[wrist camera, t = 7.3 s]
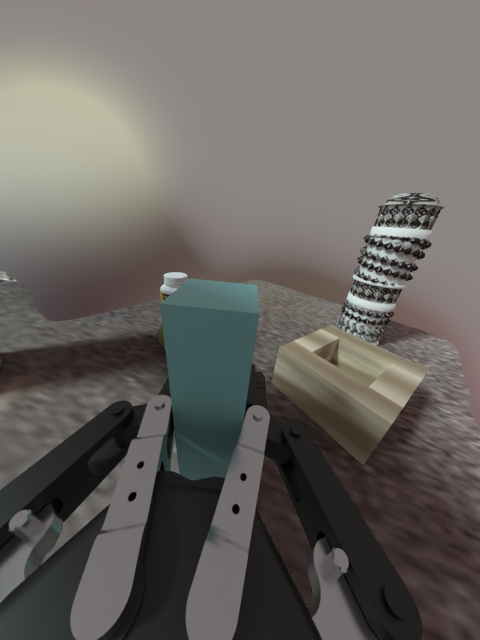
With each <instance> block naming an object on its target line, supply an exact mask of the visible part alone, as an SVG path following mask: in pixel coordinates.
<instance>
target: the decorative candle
mask: <svg viewBox="0 0 480 640" xmlns="http://www.w3.org/2000/svg"><path fill="white" fill-rule="evenodd" d="M379 208H380V211H379V214H378V217H377V219H376V223H375V225H374V227H372V230H371V233H370V235H367V236H366V237H364V241H365V242H366V243H369V244H368V246H366V247H363V248H362V249H361V250H360V252H361V254H362V255H363V256H361V257H359V258H358V263H359V264H361V266H359V267H357V268H356V269H355V270H354V271H355V275H354V276H353V278H354V279H355V280H354V283H353V286H352V288H351V291H350V292H349V294H348V297H347V299H346V300H345V301H344V305H345V306H344V307H342V308H341V311H342V312H343V313H341V314H339V316H338V321H337V322H336V327H337V328H339V329H341V330H343V331H345V332H348V333H350V334H352V335H354V336H356V337H359V338H361V339H363V340H365V341H367V342H369V343H372V344H374V345H376V346H377V345H378V344H379V340H381V338H382V337H383V336H382V334H383V333H384V332H385V331H386V328H385V327H386V326H385V325H387V324H388V323H389V322H390V320H389V318H388V317H392V316H393V315H394V313H393V310H394V308H395V305H396V301H397V299H398V297H399V295H400V293H401V291H402V289H404V288H407V284H406V283H404V282H405V281H408V280H412V278H413V277H412V276H411V275H410V273H409V272H412V271H415V270H417V269H418V267H417V266H416V265H415V264H414V262H415V260H416V259H418V260H419V259H421V258H424V257H425V254H424V253H423V251H421V252H420V250H421V249H423V250H424V249H427V248H429V247H430V246H431V243H430V242H429V241H428V239H429V236H430V235H431V232H432V231H431V229H432V227H433V225H434V223H435V221H436V219H437V217H438V214H439V213H440V211H441V209H443V208H444V207H441V206H440V203H439V198H438V197H437V196H435V195H433V194H425V193H408V194H398V195H395V196H392V197H391V198H389V199H388V200H387V201H386V203H385V204H383V205H382V206H379ZM413 264H414V265H413Z"/></svg>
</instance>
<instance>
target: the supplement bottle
mask: <svg viewBox="0 0 480 640" xmlns="http://www.w3.org/2000/svg"><path fill="white" fill-rule="evenodd" d="M186 281H188V278H187V274H184V273H176V272H173V273H167V274H164V284H163V285H162V286H161V288H160V291H161V301H162V302H163V301H164V300H165V299H166V298H167V297H168V296H170V295H171V294H172V293H173V292H174V291H176V290H177V289H178V288H179V287H180V286H182V285H183V284H184V283H185V282H186Z"/></svg>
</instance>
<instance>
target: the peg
mask: <svg viewBox="0 0 480 640" xmlns="http://www.w3.org/2000/svg"><path fill="white" fill-rule="evenodd" d="M160 307H161V315H162V324H163V333H164V342H165V350H166V359H167V368H168V377H169V386H170V394H171V403H172V412H173V421H174V429H175V438H176V447H177V456H178V465H179V473H180V475H182V476H184V477H186V478H188V479H190V480H199V479H204V478H209V477H223V478H226V475H227V472H228V468H229V465H230V462H231V458H232V455H233V452H234V449H235V446H236V443H237V442H238V439H239V436H240V433H241V429H242V426H243V422H244V415H245V408H246V401H247V394H248V387H249V380H250V373H251V366H252V359H253V352H254V346H255V339H256V332H257V325H258V318H259V305H258V291H257V285H248V284H238V283H228V282H218V281H208V280H198V279H189V280H188V281H186V282H185V283H184V284H183V285H182V286H180V287H179V288H178V289H177V290H176V291H174V292H173V293H172V294H171V295H170V296H168V297H167V298H166V299H165V300H164V301H163V302H161V303H160Z"/></svg>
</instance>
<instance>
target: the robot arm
mask: <svg viewBox="0 0 480 640" xmlns="http://www.w3.org/2000/svg"><path fill="white" fill-rule="evenodd" d="M2 365H3V360H2V358H1V357H0V368H1V367H2ZM174 435H175V429H174V421H173V412H172V403H171V394H170V386H169V377H168V379H167V381H166V382H165V384H164V386H163V388H162V390H161V391H160V393H159V395H158V396H155V397H154V398H152V399H151V400H150V401H149V402H148V403H147V404H143V405H138V406H132V405H131V403H130V402H128V401H118V402H115V403H113V404H112V405H110V406H109V407H107V408H106V409H105V410H104V411H102V412H101V413H100V414H98V415H97V416H96V417H94V418H93V419H92V420H91V421H89V422H88V423H87V424H85V425H84V426H83V427H82V428H80V429H79V430H78V431H76V432H75V433H74V434H72V435H71V436H70V437H69V438H67V439H66V440H65V441H63V442H62V443H61V444H59V445H58V446H57V447H56V448H54V449H53V450H52V451H50V452H49V453H48V454H47V455H45V456H44V457H43V458H41V459H40V460H39V461H37V462H36V463H35V464H34V465H32V466H31V467H30V468H28V469H27V470H26V471H24V472H23V473H22V474H21V475H19V476H18V477H17V478H15V479H14V480H13V481H12V482H10V483H9V484H8V485H6V486H5V487H4V488H2V489H1V490H0V640H421V638H422V623H421V619H420V615H419V612H418V609H417V606H416V604H415V602H414V600H413V598H412V596H411V594H410V592H409V591H408V589H407V588H406V586H405V584H404V583H403V581H402V580H401V578H400V576H399V575H398V573H397V572H396V570H395V569H394V567H393V565H392V564H391V562H390V561H389V559H388V557H387V556H386V554H385V553H384V551H383V550H382V548H381V546H380V545H379V543H378V542H377V540H376V538H375V537H374V535H373V534H372V532H371V530H370V529H369V527H368V526H367V524H366V523H365V521H364V519H363V518H362V516H361V515H360V513H359V511H358V510H357V508H356V507H355V505H354V504H353V502H352V500H351V499H350V497H349V496H348V494H347V492H346V491H345V489H344V488H343V486H342V484H341V483H340V481H339V480H338V478H337V477H336V475H335V473H334V472H333V470H332V469H331V467H330V465H329V464H328V462H327V461H326V459H325V458H324V456H323V454H322V453H321V451H320V450H319V448H318V446H317V445H316V443H315V442H314V440H313V438H312V437H311V435H310V434H309V432H308V431H307V429H306V428H305V426H304V425H303V424H301V423H300V422H298V421H295V420H289V421H287V422H286V423H284V422H281V421H279V420H277V419H275V418H274V417H272V416H271V414H270V413H269V411H268V409H267V399H266V386H265V377H264V375H263V373H262V372H257V371H255V364H252V366H251V373H250V380H249V387H248V394H247V401H246V408H245V415H244V422H243V426H242V429H241V433H240V436H239V439H238V442H237V443H236V446H235V449H234V452H233V455H232V458H231V462H230V465H229V468H228V472H227V475H226V478H223V477H209V478H204V479H199V480H190V479H188V478H186V477H184V476H182V475H180V474H177V473H175V472H172V471H170V465H171V456H172V449H173V442H174ZM264 455H265V456H267V457H269V458H271V459H273V460H274V461H276V464H277V467H278V469H279V471H280V474H281V476H282V478H283V481H284V483H285V486H286V488H287V490H288V493H289V495H290V498H291V500H292V502H293V505H294V507H295V510H296V512H297V514H298V517H299V519H300V521H301V524H302V526H303V529H304V531H305V533H306V536H307V538H308V541H309V543H310V545H311V548H312V550H311V551H310V553H309V555H308V559H307V571H308V576H309V580H310V583H311V588H312V594H313V605H312V610H311V614H310V613H309V611H308V609H307V607H306V605H305V603H304V601H303V599H302V597H301V596H300V594H299V592H298V590H297V588H296V586H295V584H294V582H293V580H292V578H291V576H290V574H289V572H288V570H287V568H286V566H285V564H284V562H283V561H282V559H281V557H280V555H279V553H278V551H277V549H276V547H275V545H274V543H273V541H272V539H271V537H270V535H269V533H268V531H267V529H266V527H265V526H264V524H263V522H262V520H261V518H260V516H259V514H258V512H257V510H256V503H257V497H258V491H259V485H260V479H261V473H262V466H263V460H264ZM125 456H126V458H125V461H124V464H123V467H122V470H121V473H120V476H119V479H118V482H117V485H116V488H115V491H114V494H113V497H112V500H111V503H110V504H109V505H108V506H107V507H106V508H105V509H104V510H103V511H101V512H100V513H99V514H98V515H97V516H96V517H95V518H94V519H92V520H91V521H90V522H89V523H88V524H87V525H86V526H85V527H83V528H82V529H81V530H80V531H79V532H78V533H77V534H76V535H74V536H73V537H72V538H71V539H70V540H69V541H68V542H66V543H65V544H64V545H63V546H62V547H61V548H60V549H59V550H57V551H56V552H55V553H54V554H53V555H52V556H51V557H50V558H48V559H47V560H46V561H45V562H44V563H43V564H42V565H41V563H42V561H43V559H44V558H45V556H46V554H47V553H49V552H50V551H51V550H52V549H53V547H54V546H55V544H56V541H57V539H58V538H59V536H60V533H61V531H62V527H63V522H64V521H65V520H66V519H67V518H68V517H69V516H70V515H71V514H72V513H73V512H74V511H75V509H76V508H77V507H78V506H79V505H80V504H81V503H82V502H83V501H84V500H85V499H86V498H87V497H88V496H89V494H90V493H91V492H92V491H93V490H94V489H95V488H96V487H97V486H98V485H99V484H100V483H101V482H102V481H103V479H104V478H105V477H106V476H107V475H108V474H109V473H110V472H111V471H112V470H113V469H114V468H115V467H116V466H117V464H118V463H119V462H120V461H121V460H122V459H123V458H124V457H125ZM40 565H41V566H40Z"/></svg>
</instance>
